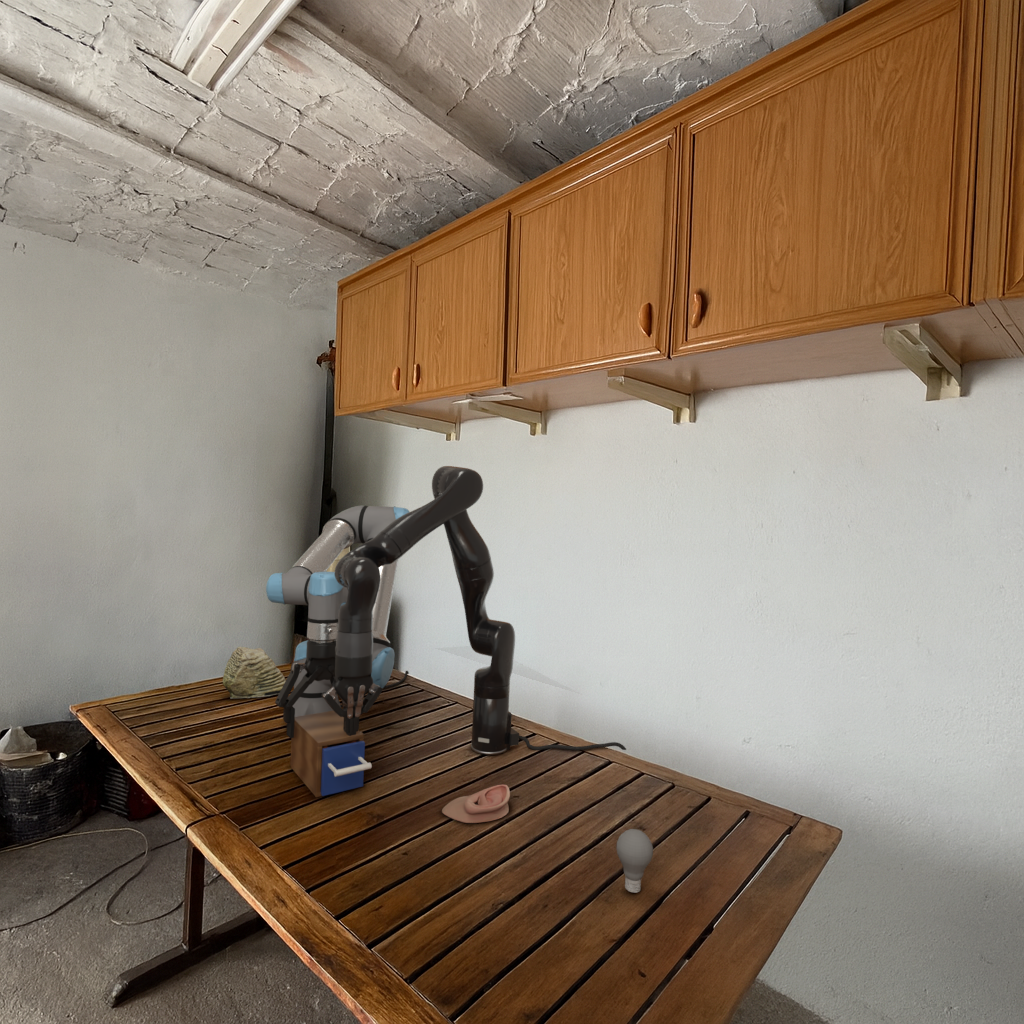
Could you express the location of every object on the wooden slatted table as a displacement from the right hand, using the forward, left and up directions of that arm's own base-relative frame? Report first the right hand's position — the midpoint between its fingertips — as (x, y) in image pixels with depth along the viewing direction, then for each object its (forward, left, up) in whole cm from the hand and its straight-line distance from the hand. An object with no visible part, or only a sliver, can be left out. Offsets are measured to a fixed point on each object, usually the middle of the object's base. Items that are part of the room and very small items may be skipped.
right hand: (351, 734), depth 132 cm
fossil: (+9, -80, -14) cm, 82 cm away
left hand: (+3, -18, -5) cm, 18 cm away
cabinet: (+2, -14, -14) cm, 20 cm away
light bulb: (-35, +49, -14) cm, 62 cm away
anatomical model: (-23, +14, -14) cm, 30 cm away
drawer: (+1, -8, -13) cm, 16 cm away
